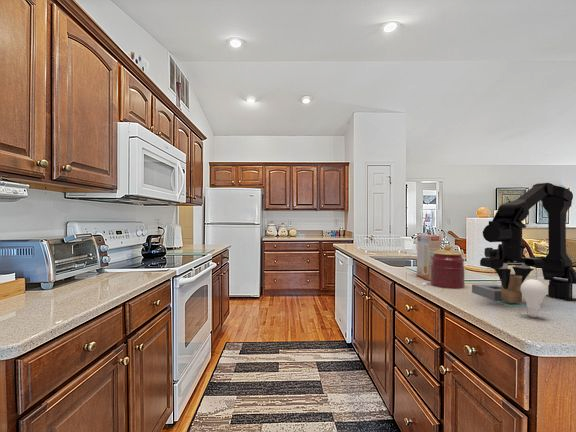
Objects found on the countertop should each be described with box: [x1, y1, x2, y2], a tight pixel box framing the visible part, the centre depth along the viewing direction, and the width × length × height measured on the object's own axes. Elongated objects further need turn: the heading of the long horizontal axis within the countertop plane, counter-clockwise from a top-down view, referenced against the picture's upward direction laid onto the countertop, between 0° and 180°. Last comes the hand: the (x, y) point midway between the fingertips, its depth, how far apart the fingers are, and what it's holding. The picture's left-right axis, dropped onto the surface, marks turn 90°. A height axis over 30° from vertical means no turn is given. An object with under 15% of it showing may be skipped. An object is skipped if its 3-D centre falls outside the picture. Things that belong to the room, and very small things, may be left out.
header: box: [471, 283, 502, 301], centre depth 120 cm, size 10×12×4 cm
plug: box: [500, 273, 523, 303], centre depth 109 cm, size 4×4×9 cm
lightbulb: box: [520, 278, 548, 318], centre depth 96 cm, size 6×6×11 cm
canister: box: [430, 244, 466, 290], centre depth 139 cm, size 13×13×18 cm
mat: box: [493, 300, 527, 308], centre depth 109 cm, size 7×7×1 cm
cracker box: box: [416, 233, 442, 282], centre depth 158 cm, size 14×6×21 cm, turn 179°
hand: (511, 288), depth 109 cm, fingers closed on plug, 4 cm apart
